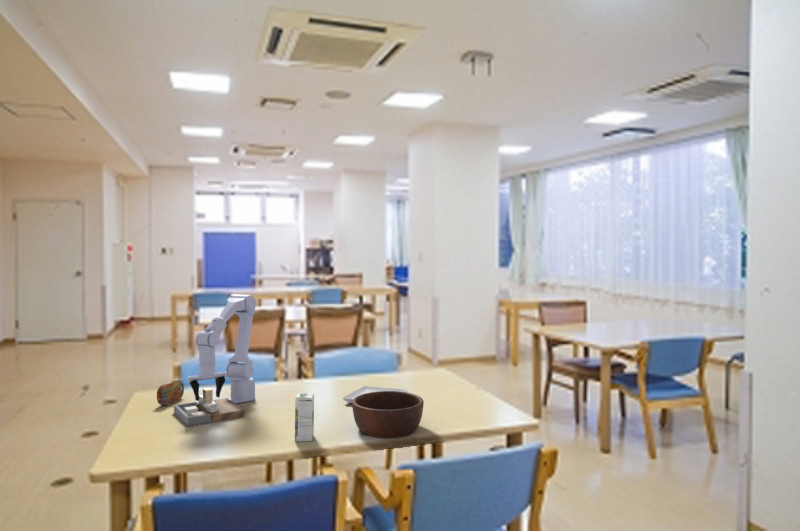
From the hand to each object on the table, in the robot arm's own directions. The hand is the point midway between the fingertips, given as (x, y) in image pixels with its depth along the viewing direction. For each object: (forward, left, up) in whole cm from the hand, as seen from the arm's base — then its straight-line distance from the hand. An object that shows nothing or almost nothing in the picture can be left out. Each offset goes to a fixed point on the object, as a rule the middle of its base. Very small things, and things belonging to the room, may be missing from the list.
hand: (207, 398), depth 202 cm
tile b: (+5, +4, -6) cm, 9 cm away
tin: (+8, -26, -6) cm, 28 cm away
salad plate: (-62, +21, -7) cm, 66 cm away
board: (-4, 0, -6) cm, 8 cm away
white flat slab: (0, 0, -3) cm, 3 cm away
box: (+6, 0, -6) cm, 8 cm away
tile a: (+5, -4, -6) cm, 9 cm away
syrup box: (-18, +45, -6) cm, 49 cm away
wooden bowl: (-46, +53, -6) cm, 71 cm away
